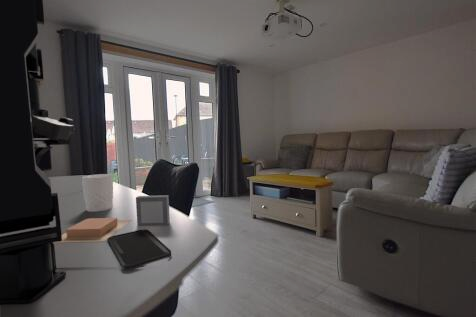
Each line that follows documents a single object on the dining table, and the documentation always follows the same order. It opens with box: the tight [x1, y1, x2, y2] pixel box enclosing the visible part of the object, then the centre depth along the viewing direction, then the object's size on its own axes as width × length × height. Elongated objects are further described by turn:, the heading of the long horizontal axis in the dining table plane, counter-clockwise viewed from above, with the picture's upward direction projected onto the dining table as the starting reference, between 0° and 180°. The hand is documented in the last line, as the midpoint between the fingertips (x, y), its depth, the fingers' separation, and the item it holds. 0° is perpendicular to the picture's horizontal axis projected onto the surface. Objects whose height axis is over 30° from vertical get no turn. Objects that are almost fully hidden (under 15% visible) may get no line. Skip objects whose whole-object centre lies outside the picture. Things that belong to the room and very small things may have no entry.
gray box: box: [135, 194, 171, 227], centre depth 57 cm, size 2×7×7 cm, turn 90°
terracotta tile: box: [65, 217, 118, 237], centre depth 54 cm, size 2×7×7 cm
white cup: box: [81, 173, 114, 213], centre depth 72 cm, size 8×8×10 cm
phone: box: [107, 228, 172, 272], centre depth 46 cm, size 8×1×15 cm
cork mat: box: [53, 219, 133, 244], centre depth 55 cm, size 13×11×1 cm
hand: (29, 181), depth 51 cm, fingers closed
